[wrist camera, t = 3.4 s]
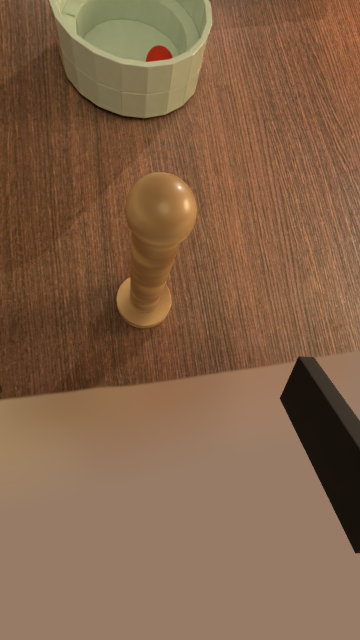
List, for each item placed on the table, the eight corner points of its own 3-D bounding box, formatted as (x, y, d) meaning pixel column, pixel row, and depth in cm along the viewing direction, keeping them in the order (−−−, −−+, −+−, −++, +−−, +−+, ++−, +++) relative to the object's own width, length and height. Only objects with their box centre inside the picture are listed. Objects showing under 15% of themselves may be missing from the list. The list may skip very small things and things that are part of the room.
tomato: (139, 78, 33) (140, 48, 30) (155, 62, 34) (157, 32, 31) (162, 93, 33) (165, 66, 30) (176, 78, 34) (181, 49, 31)
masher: (105, 308, 28) (74, 196, 11) (137, 267, 29) (150, 114, 13) (150, 339, 28) (182, 272, 12) (179, 297, 29) (247, 183, 13)
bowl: (31, 64, 32) (10, -7, 26) (117, -9, 36) (115, -84, 30) (149, 147, 32) (154, 95, 27) (221, 66, 36) (239, 5, 31)
